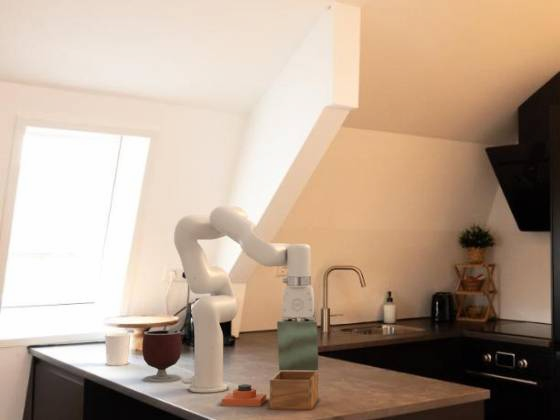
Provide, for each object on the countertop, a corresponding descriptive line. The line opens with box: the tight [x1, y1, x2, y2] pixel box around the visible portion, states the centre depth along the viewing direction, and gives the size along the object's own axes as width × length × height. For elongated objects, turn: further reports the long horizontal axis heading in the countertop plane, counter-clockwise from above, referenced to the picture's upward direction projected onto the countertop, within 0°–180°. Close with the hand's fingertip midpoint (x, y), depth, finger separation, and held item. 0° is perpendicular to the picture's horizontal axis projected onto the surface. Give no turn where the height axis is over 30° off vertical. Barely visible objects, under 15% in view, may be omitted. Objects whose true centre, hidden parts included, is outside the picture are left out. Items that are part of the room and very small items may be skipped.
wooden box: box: [269, 370, 319, 411], centre depth 237 cm, size 16×13×9 cm
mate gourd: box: [141, 321, 183, 383], centre depth 280 cm, size 16×14×20 cm
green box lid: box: [276, 320, 319, 371], centre depth 243 cm, size 16×13×1 cm
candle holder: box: [104, 332, 131, 366], centre depth 313 cm, size 10×10×12 cm
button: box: [237, 383, 252, 391], centre depth 239 cm, size 4×4×2 cm
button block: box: [221, 387, 267, 407], centre depth 239 cm, size 12×9×4 cm
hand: (298, 339), depth 245 cm, fingers closed
